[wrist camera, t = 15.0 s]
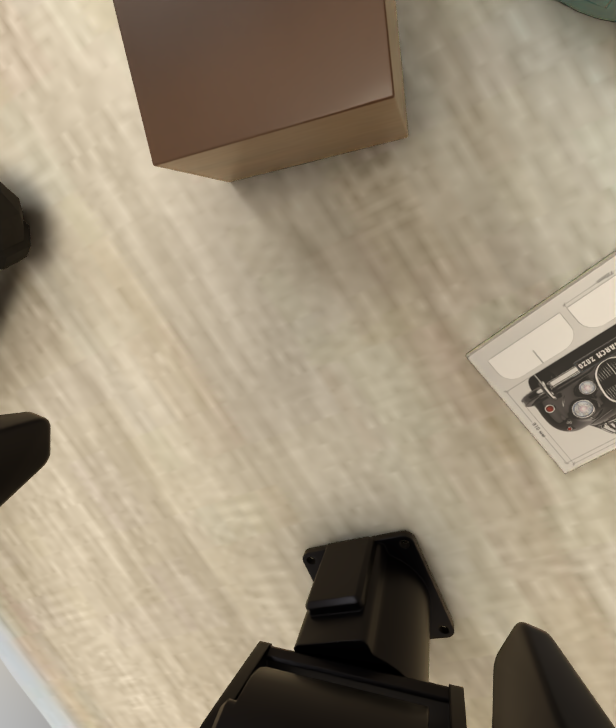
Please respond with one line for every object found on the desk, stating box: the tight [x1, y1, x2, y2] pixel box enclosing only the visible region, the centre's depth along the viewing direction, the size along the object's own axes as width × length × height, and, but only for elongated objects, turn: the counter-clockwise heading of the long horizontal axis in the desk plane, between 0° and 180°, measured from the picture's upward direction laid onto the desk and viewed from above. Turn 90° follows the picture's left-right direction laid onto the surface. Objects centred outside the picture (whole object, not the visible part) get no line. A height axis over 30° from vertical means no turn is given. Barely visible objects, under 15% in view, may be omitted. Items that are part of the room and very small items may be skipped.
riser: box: [113, 0, 409, 182], centre depth 14 cm, size 8×8×6 cm
